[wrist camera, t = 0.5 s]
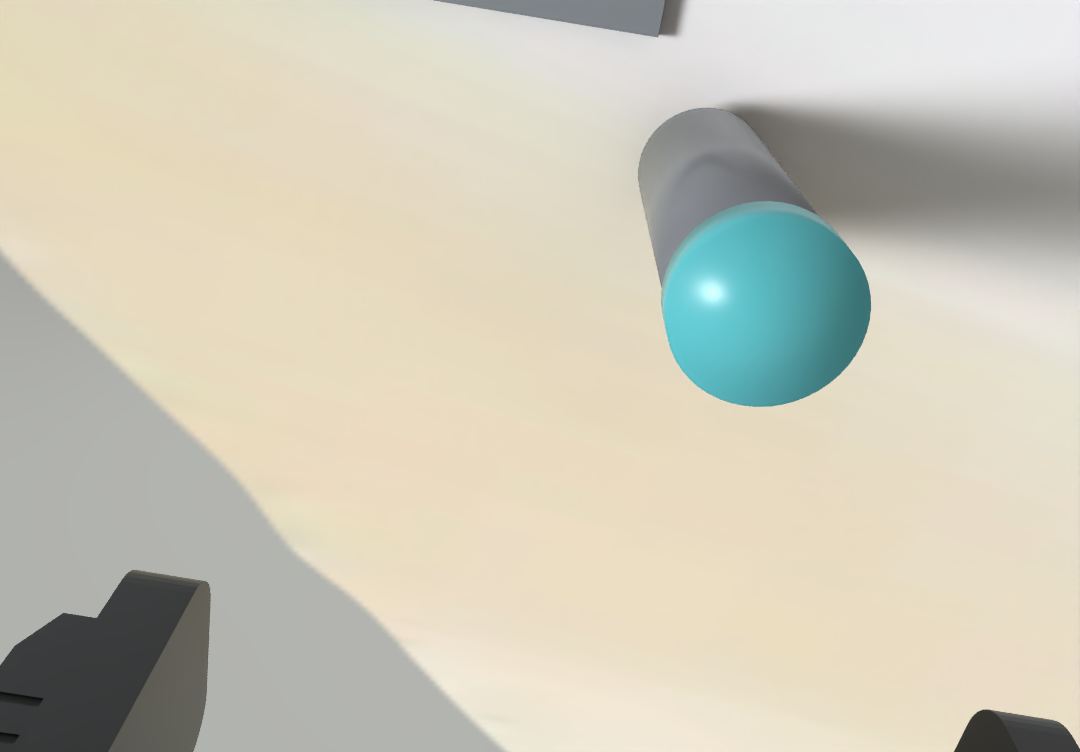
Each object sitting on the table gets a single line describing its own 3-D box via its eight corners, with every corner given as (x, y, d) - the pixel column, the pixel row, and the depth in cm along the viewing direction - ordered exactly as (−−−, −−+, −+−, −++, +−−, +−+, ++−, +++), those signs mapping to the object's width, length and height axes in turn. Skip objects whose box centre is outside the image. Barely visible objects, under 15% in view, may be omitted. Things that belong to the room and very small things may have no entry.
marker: (646, 86, 30) (690, 204, 19) (777, 108, 30) (897, 236, 19) (621, 214, 32) (648, 391, 20) (745, 234, 32) (838, 419, 21)
